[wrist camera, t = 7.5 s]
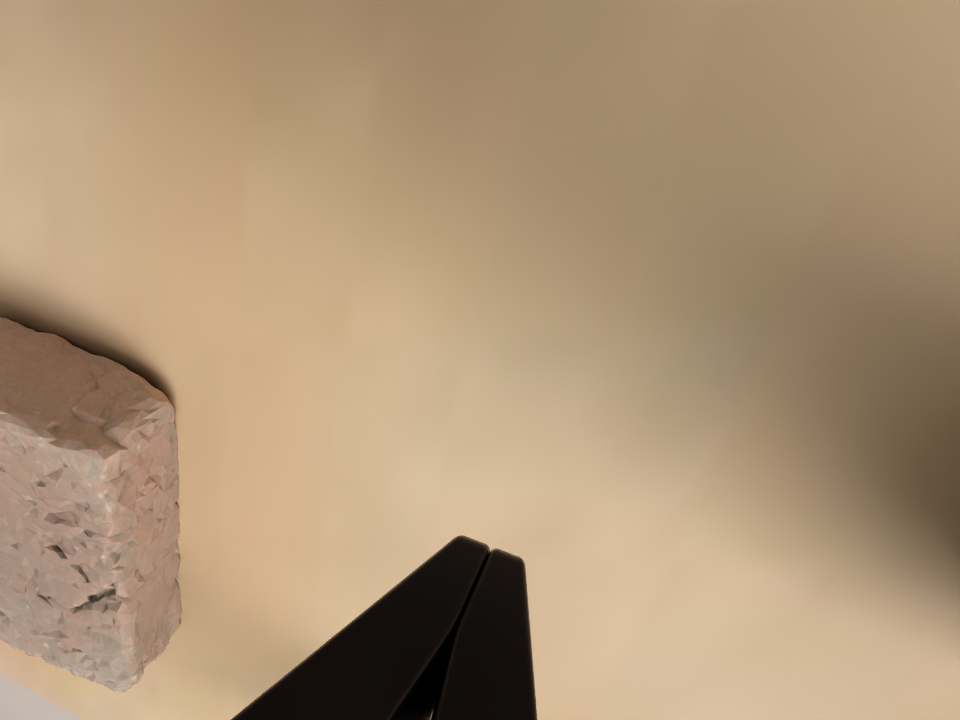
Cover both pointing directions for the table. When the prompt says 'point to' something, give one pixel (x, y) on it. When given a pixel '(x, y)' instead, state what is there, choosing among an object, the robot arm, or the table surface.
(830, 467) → the table surface
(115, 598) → the brick
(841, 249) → the table surface
